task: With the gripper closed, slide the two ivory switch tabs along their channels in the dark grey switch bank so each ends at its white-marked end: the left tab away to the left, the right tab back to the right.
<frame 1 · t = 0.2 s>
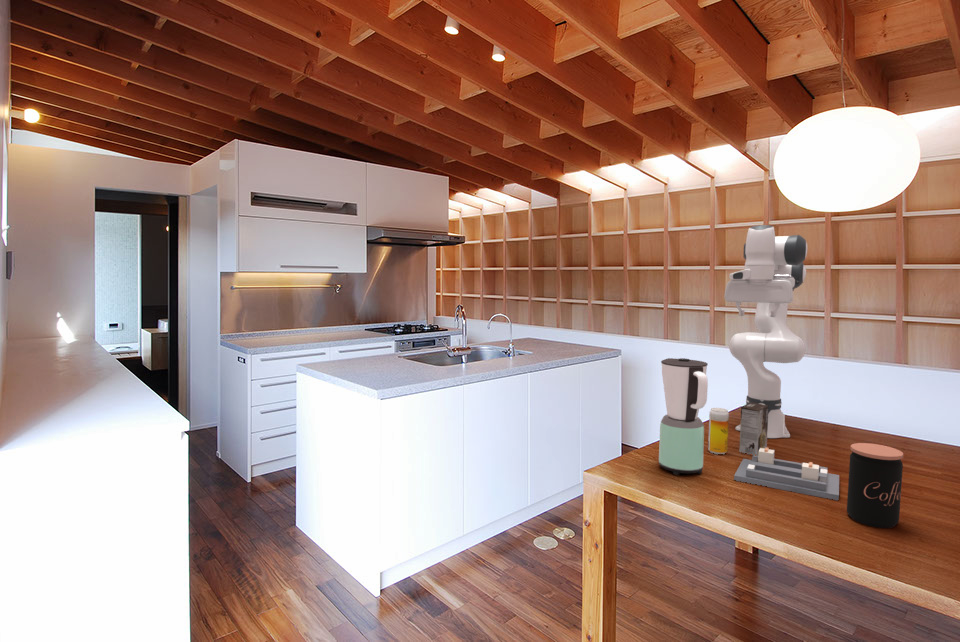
hand: (757, 316, 180), 47 cm above the table, tool pointing down, fingers open, 8 cm apart
switch bank: (786, 480, 161), on the table
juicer: (681, 470, 169), on the table
tab a: (766, 457, 168), point 5 cm above the table, slide at 0.0 cm
beer can: (717, 452, 187), on the table
tab b: (810, 473, 154), point 5 cm above the table, slide at 0.0 cm
coffee jar: (871, 520, 135), on the table
coffee box: (752, 452, 188), on the table
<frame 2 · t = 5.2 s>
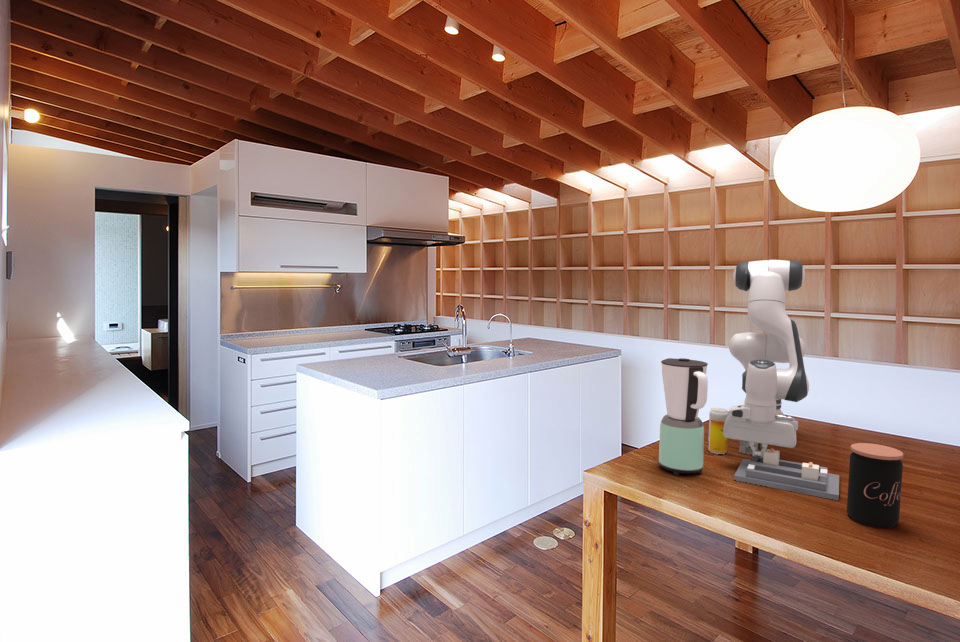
hand: (757, 456, 169), 5 cm above the table, tool pointing down, fingers closed
tab a: (771, 458, 167), point 5 cm above the table, slide at 1.4 cm, touching gripper
everything else where it was.
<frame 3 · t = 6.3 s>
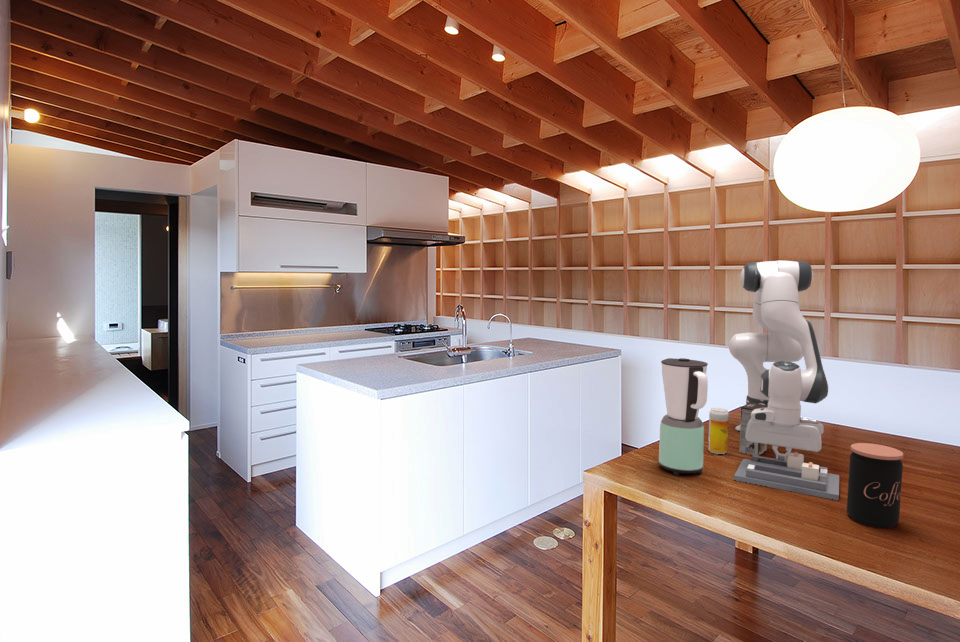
hand: (781, 460, 165), 5 cm above the table, tool pointing down, fingers closed
tab a: (795, 462, 163), point 5 cm above the table, slide at 7.9 cm, touching gripper
everything else where it was.
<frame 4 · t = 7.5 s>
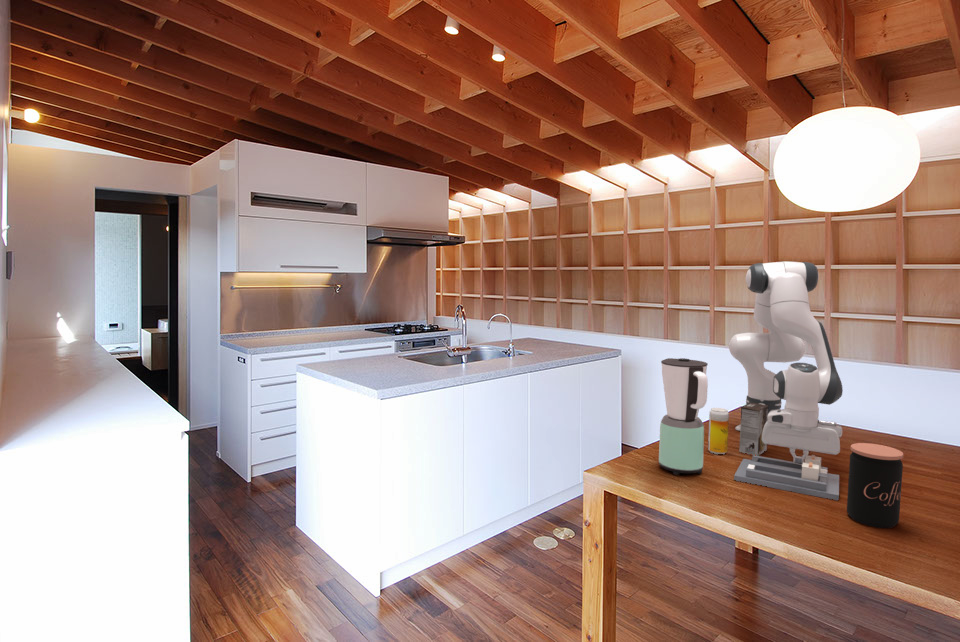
hand: (798, 463, 163), 5 cm above the table, tool pointing down, fingers closed
tab a: (812, 465, 161), point 5 cm above the table, slide at 12.3 cm, touching gripper, switch bank
everything else where it was.
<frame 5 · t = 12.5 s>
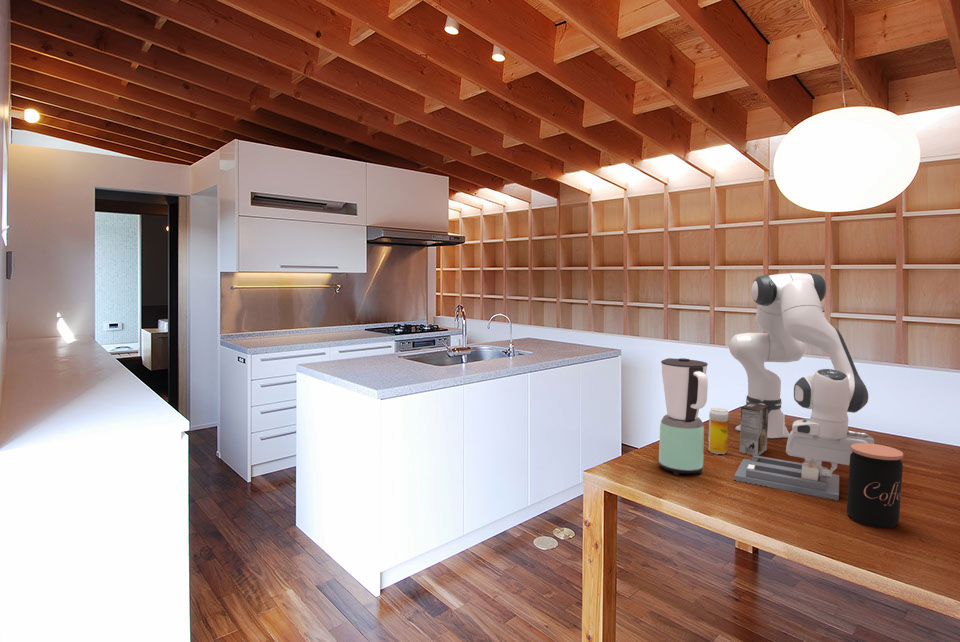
hand: (825, 476, 152), 4 cm above the table, tool pointing down, fingers closed
tab a: (812, 465, 161), point 5 cm above the table, slide at 12.3 cm, touching switch bank
tab b: (810, 473, 154), point 5 cm above the table, slide at 0.0 cm, touching gripper
everything else where it was.
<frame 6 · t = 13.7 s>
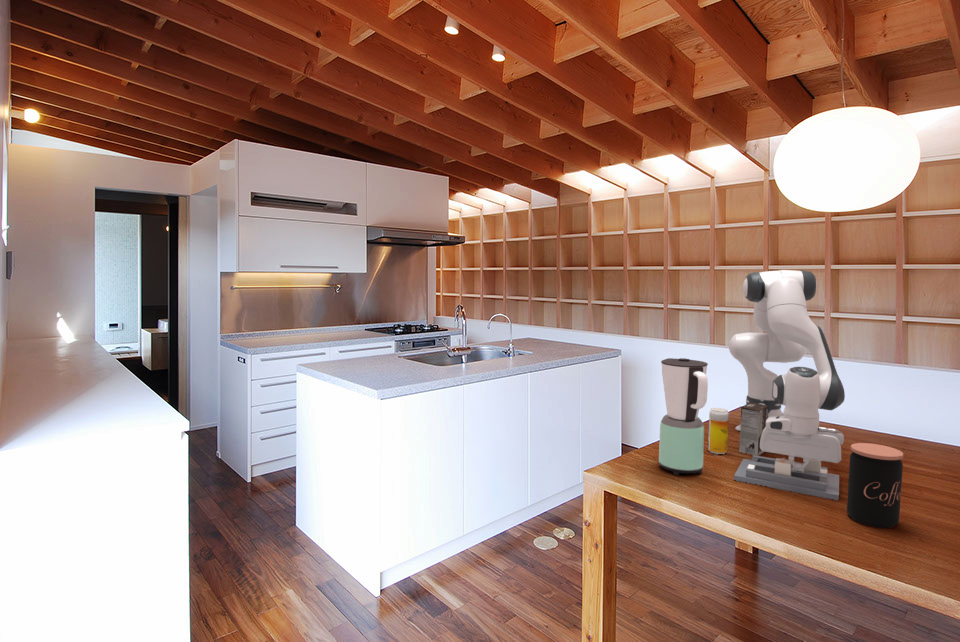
hand: (798, 471, 156), 4 cm above the table, tool pointing down, fingers closed
tab b: (783, 468, 158), point 5 cm above the table, slide at 6.8 cm, touching gripper
everything else where it was.
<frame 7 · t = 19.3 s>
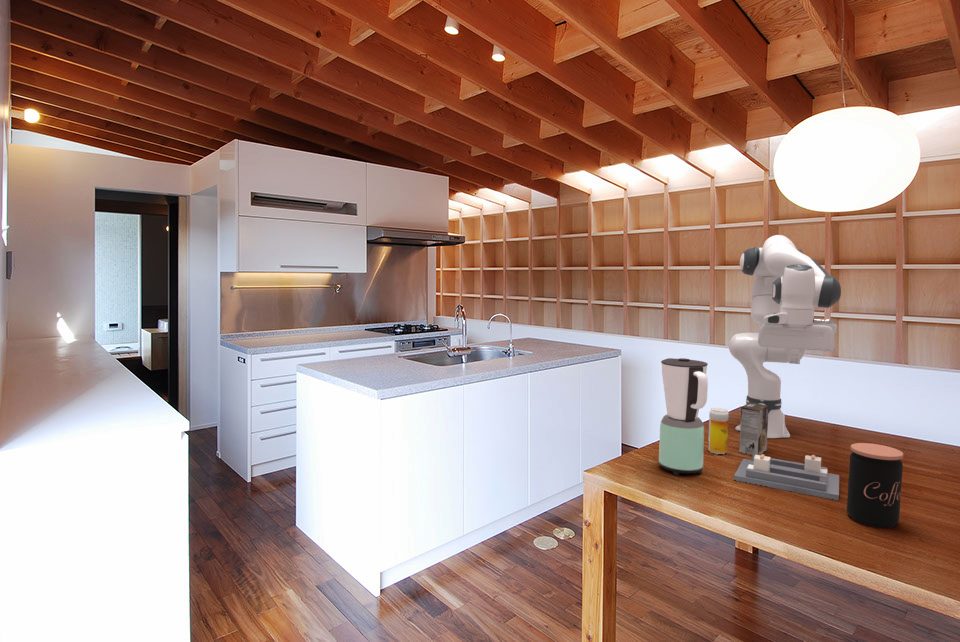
hand: (794, 363, 165), 34 cm above the table, tool pointing down, fingers closed
tab b: (761, 464, 161), point 5 cm above the table, slide at 12.3 cm, touching switch bank
everything else where it was.
at the end: tab a slide at 12.3 cm; tab b slide at 12.3 cm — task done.
